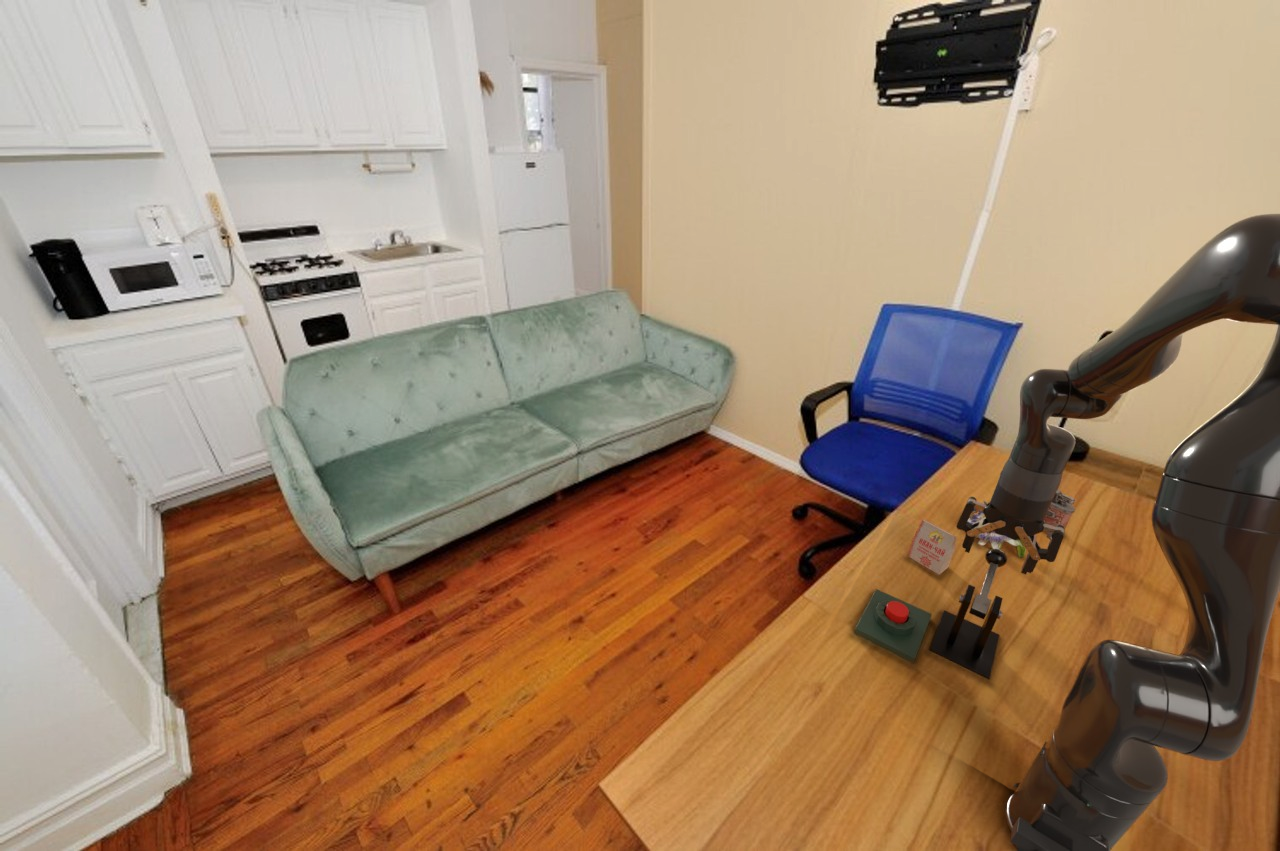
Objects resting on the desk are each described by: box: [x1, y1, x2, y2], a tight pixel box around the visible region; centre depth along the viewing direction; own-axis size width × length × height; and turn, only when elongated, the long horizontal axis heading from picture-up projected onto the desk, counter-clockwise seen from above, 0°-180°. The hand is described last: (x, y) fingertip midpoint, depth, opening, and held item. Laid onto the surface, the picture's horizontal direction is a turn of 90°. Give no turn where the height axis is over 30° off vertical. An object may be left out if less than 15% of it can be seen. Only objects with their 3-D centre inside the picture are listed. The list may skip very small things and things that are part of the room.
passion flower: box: [968, 500, 1027, 559], centre depth 112 cm, size 11×11×12 cm
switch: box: [968, 548, 1008, 620], centre depth 87 cm, size 13×3×3 cm, turn 141°
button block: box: [853, 588, 932, 664], centre depth 92 cm, size 12×10×4 cm
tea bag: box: [907, 519, 957, 576], centre depth 105 cm, size 4×7×10 cm, turn 35°
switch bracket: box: [929, 584, 1003, 680], centre depth 87 cm, size 11×9×12 cm
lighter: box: [1044, 488, 1076, 529], centre depth 115 cm, size 8×3×10 cm, turn 25°
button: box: [885, 601, 909, 623], centre depth 91 cm, size 4×4×2 cm
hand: (995, 560), depth 89 cm, fingers open, 8 cm apart
